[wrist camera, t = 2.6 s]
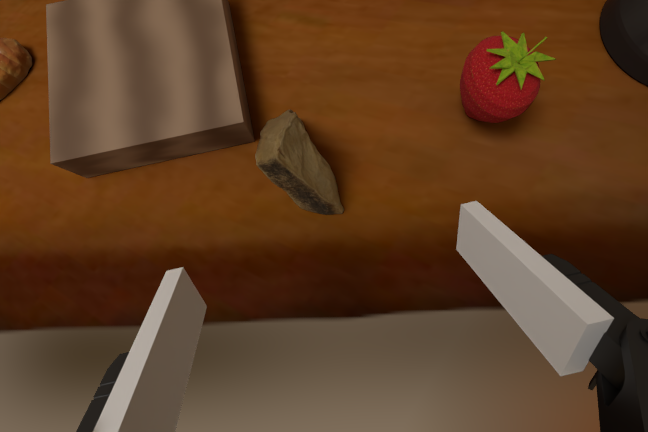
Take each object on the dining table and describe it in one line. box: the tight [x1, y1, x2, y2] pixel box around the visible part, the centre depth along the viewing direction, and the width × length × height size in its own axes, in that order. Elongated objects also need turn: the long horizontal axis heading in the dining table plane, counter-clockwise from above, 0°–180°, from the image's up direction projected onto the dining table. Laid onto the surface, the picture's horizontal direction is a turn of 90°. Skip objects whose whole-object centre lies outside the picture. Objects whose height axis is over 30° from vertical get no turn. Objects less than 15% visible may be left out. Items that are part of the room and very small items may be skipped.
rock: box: [256, 110, 344, 215], centre depth 27 cm, size 11×9×10 cm
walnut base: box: [46, 0, 255, 178], centre depth 31 cm, size 18×18×4 cm
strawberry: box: [460, 31, 555, 123], centre depth 26 cm, size 6×8×10 cm
